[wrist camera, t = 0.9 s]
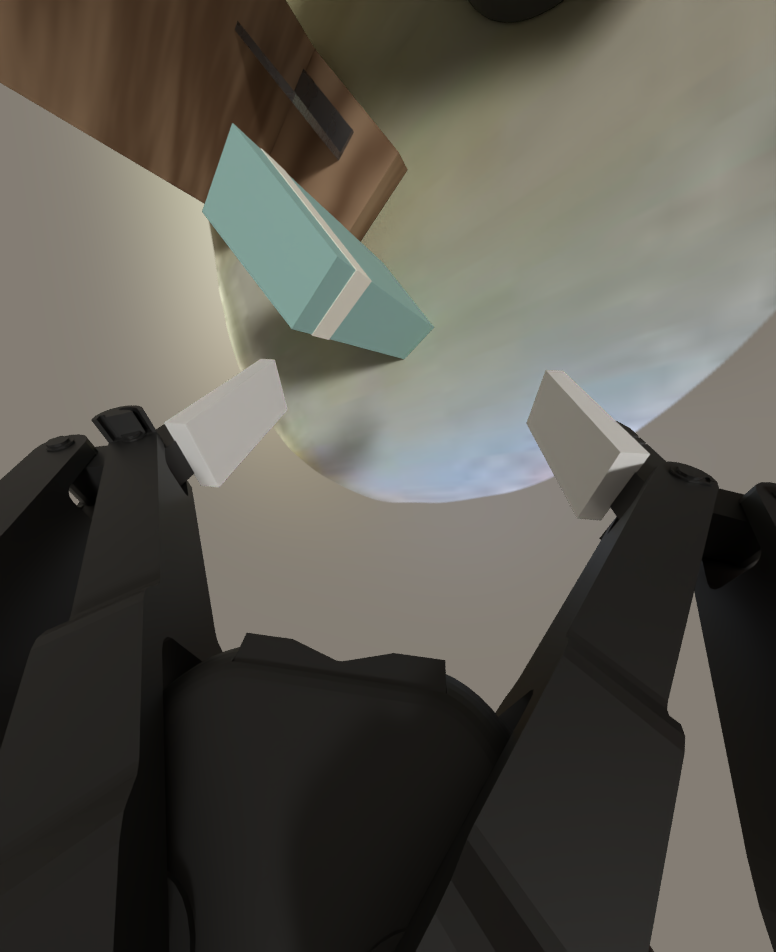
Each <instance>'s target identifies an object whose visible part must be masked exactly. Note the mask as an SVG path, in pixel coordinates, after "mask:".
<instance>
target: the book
mask: <svg viewBox="0 0 776 952" xmlns="http://www.w3.org/2000/svg"><path fill="white" fill-rule="evenodd" d="M202 212H203V213H204V215H205V216H206V218H207V219H208V220H209V221H210V223H211V224H212V225H213V227H214V228H215V229H216V231H217V232H218V233H219V235H220V236H221V237H222V238H223V240H224V241H225V242H226V244H227V245H228V246H229V248H230V249H231V250H232V252H233V253H234V254H235V256H236V257H237V258H238V259H239V261H240V262H241V263H242V265H243V266H244V267H245V269H246V270H247V271H248V273H249V274H250V275H251V276H252V278H253V279H254V280H255V282H256V283H257V284H258V286H259V287H260V288H261V290H262V291H263V292H264V293H265V295H266V296H267V297H268V299H269V300H270V301H271V303H272V304H273V305H274V307H275V308H276V309H277V311H278V312H279V313H280V314H281V316H282V317H283V318H284V320H285V321H286V322H287V324H288V325H289V326H290V328H291V329H294V330H297V331H301V332H305V333H308V334H311V335H312V336H316V337H319V338H323V339H327V340H329V339H331V340H335V341H338V342H342V343H346V344H350V345H353V346H357V347H361V348H364V349H368V350H372V351H376V352H379V353H383V354H387V355H391V356H394V357H398V358H402V359H405V358H406V357H407V356H408V355H409V354H410V353H411V351H412V350H413V349H414V348H415V347H416V346H417V345H418V344H419V343H420V342H421V341H422V340H423V339H424V338H425V337H426V336H427V334H428V333H429V332H430V331H431V330H432V329H433V328H434V327H433V325H432V324H431V323H430V322H429V320H428V319H427V318H426V317H425V315H424V314H423V313H422V312H421V310H420V309H419V308H418V306H417V305H416V304H415V303H414V301H413V300H412V299H411V298H410V296H409V295H408V294H407V293H406V291H405V290H404V289H403V288H402V286H401V285H400V284H399V282H398V281H397V280H396V279H395V277H394V276H393V275H392V274H391V272H390V271H389V270H388V269H387V267H386V266H385V265H384V263H383V262H381V261H380V260H379V259H378V258H377V257H376V256H375V255H374V254H373V253H372V252H371V251H370V250H369V249H368V248H366V247H365V246H364V245H363V244H362V243H361V242H360V241H359V240H358V239H357V238H356V237H355V236H354V235H353V234H351V233H350V232H349V231H348V230H347V229H346V228H345V227H344V226H343V225H342V224H341V223H340V222H339V221H337V220H336V219H335V218H334V217H333V216H332V215H331V214H330V213H329V212H328V211H327V210H326V209H325V208H324V207H322V206H321V205H320V204H319V203H318V202H317V201H316V200H315V199H314V198H313V197H312V196H311V195H310V194H309V193H307V192H306V191H305V190H304V189H303V188H302V187H301V186H300V185H299V184H298V183H297V182H296V181H295V180H294V179H292V178H291V177H290V176H289V175H288V174H287V172H286V171H285V170H284V169H283V168H282V167H281V166H280V165H279V164H278V163H277V162H276V161H275V160H273V159H272V158H271V157H270V156H269V155H268V154H267V153H266V152H265V151H264V150H263V149H262V148H261V149H260V148H259V147H258V146H257V145H256V144H255V143H254V142H253V141H252V140H251V139H250V138H248V137H247V136H246V135H245V134H244V133H243V132H242V131H241V130H240V129H239V128H238V127H237V126H236V125H234V124H233V123H232V125H231V128H230V131H229V134H228V137H227V140H226V143H225V146H224V149H223V152H222V155H221V158H220V161H219V163H218V166H217V169H216V172H215V175H214V178H213V181H212V184H211V187H210V190H209V193H208V196H207V199H206V202H205V205H204V207H203V211H202Z"/></svg>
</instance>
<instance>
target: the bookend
mask: <svg viewBox="0 0 776 952" xmlns="http://www.w3.org/2000/svg"><path fill="white" fill-rule="evenodd" d="M235 31H236V32H237V33H238V35H239V36H240V37H241V39H242V40H243V41H244V42H245V44H246V45H247V46H248V47H249V49H250V50H251V51H252V52H253V54H254V55H255V56H256V57H257V59H258V60H259V61H260V63H261V64H262V65H263V66H264V68H265V69H266V70H267V71H268V73H269V74H270V75H271V76H272V78H273V79H274V80H275V82H276V83H277V84H278V85H279V87H280V88H281V89H282V90H283V92H284V93H285V94H286V95H287V97H288V98H289V99H290V101H291V102H292V103H293V104H294V106H295V107H296V108H297V109H298V111H299V112H300V113H301V114H302V116H303V117H304V118H305V119H306V121H307V122H308V123H309V124H310V126H311V127H312V128H313V129H314V131H315V132H316V133H317V134H318V136H319V137H320V138H321V139H322V141H323V142H324V143H325V144H326V146H327V147H328V148H329V149H330V151H331V152H332V153H333V154H334V156H335V157H336V158H337V159H338V161H339V159H340V158H341V156H342V154H343V152H344V150H345V148H346V146H347V144H348V143H349V141H350V139H351V137H352V135H353V133H354V131H353V129H352V128H351V127H350V126H349V125H348V123H347V122H346V121H345V120H344V118H343V117H342V116H341V115H340V113H339V112H338V111H337V110H336V108H335V107H334V106H333V105H332V103H331V102H330V101H329V100H328V98H327V97H326V96H325V95H324V93H323V92H322V91H321V90H320V88H319V87H318V86H317V85H316V84H315V82H314V81H313V80H312V79H311V77H310V76H309V75H308V74H307V72H306V71H305V70H304V69H303V71H302V73H301V75H300V78H299V80H298V83H297V85H296V87H295V90H294V91H293V89H292V88H291V87H290V86H289V84H288V83H287V82H286V81H285V79H284V78H283V77H282V76H281V74H280V73H279V72H278V71H277V69H276V68H275V67H274V66H273V64H272V63H271V62H270V61H269V59H268V58H267V57H266V56H265V54H264V53H263V52H262V51H261V49H260V48H259V47H258V46H257V44H256V43H255V42H254V41H253V39H252V38H251V37H250V36H249V34H248V33H247V32H246V31H245V29H244V28H243V27H242V26H241V24H240V23H239V22H238V21H237V24H236V27H235Z"/></svg>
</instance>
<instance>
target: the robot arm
mask: <svg viewBox="0 0 776 952" xmlns="http://www.w3.org/2000/svg"><path fill="white" fill-rule="evenodd" d="M469 1H470V3H471V4H472V5H473V6H474V7H475V9H476V10H477V11H479V12H480V13H481V14H482V15H484V16H486V17H488V18H490V19H492V20H496V21H501V22H515V21H521V20H525V19H528V18H532V17H534V16H536V15H539V14H541V13H543V12H545V11H547V10H549V9H550V8H552V7H554V6H555V5H557V4H558V3H560V2H561V1H563V0H469ZM287 410H288V409H287V405H286V401H285V398H284V394H283V390H282V386H281V382H280V378H279V374H278V370H277V366H276V362H275V359H260V360H258V361H257V362H255V363H254V364H252V365H251V366H249V367H248V368H246V369H244V370H243V371H241V372H240V373H239V374H237V375H236V376H234V377H232V378H231V379H229V380H228V381H226V382H225V383H223V384H222V385H220V386H219V387H217V388H216V389H215V390H213V391H211V392H210V393H208V394H207V395H205V396H204V397H202V398H201V399H199V400H198V401H196V402H195V403H193V404H192V405H190V406H189V407H187V408H185V409H184V410H183V411H181V412H180V413H178V414H176V415H175V416H173V417H172V418H170V419H169V420H167V421H166V422H164V425H162V426H161V427H159V428H158V429H155V428H154V426H153V424H152V423H151V421H150V419H149V418H148V416H147V415H146V413H145V411H144V410H143V408H142V407H140V406H123V407H118V408H113V409H110V410H107V411H104V412H102V413H100V414H98V415H97V416H95V417H94V418H93V419H92V422H93V423H94V424H95V426H96V427H97V428H98V429H99V431H100V432H101V433H102V434H103V436H104V437H105V439H106V440H107V441H108V442H109V444H108V446H99V447H94V446H93V444H92V443H91V442H90V441H89V440H88V438H87V437H86V436H85V435H69V436H59V437H56V438H53V439H50V440H48V441H47V442H46V443H44V444H42V445H40V446H39V447H37V448H36V449H34V450H33V451H32V452H31V453H30V454H29V455H28V456H26V457H25V458H24V459H23V460H22V461H21V462H20V463H19V464H18V465H17V466H15V467H14V468H13V469H12V470H11V471H10V472H9V473H8V474H7V475H5V476H4V477H3V478H2V479H1V480H0V952H654V951H653V949H652V948H651V946H650V940H651V935H652V929H653V924H654V918H655V913H656V907H657V901H658V896H659V891H660V885H661V880H662V874H663V869H664V863H665V858H666V852H667V846H668V841H669V835H670V830H671V825H672V819H673V813H674V808H675V802H676V797H677V791H678V786H679V780H680V775H681V769H682V764H683V758H684V751H685V735H684V732H683V729H682V726H681V724H680V723H678V722H677V721H676V720H674V719H673V718H672V717H670V716H669V714H668V711H667V703H668V698H669V694H670V689H671V685H672V681H673V677H674V673H675V669H676V664H677V660H678V656H679V652H680V648H681V644H682V639H683V635H684V631H685V627H686V623H687V618H688V614H689V610H690V606H691V602H692V598H693V593H694V592H695V597H696V602H697V607H698V611H699V617H700V622H701V627H702V632H703V637H704V642H705V647H706V652H707V657H708V662H709V667H710V672H711V677H712V682H713V687H714V692H715V697H716V702H717V708H718V713H719V718H720V723H721V728H722V733H723V737H724V743H725V748H726V753H727V757H728V763H729V768H730V773H731V778H732V783H733V788H734V793H735V798H736V803H737V808H738V813H739V818H740V823H741V828H742V833H743V839H744V844H745V849H746V854H747V858H748V862H749V866H750V870H751V875H752V879H753V882H754V887H755V891H756V895H757V899H758V903H759V907H760V910H761V913H762V916H763V919H764V922H765V926H766V929H767V932H768V935H769V938H770V941H771V944H772V947H773V949H774V952H776V483H770V482H766V483H765V482H761V483H759V484H757V485H755V486H754V487H753V488H752V489H751V490H749V491H748V492H747V493H746V494H745V495H744V494H739V493H735V492H731V491H727V490H723V489H719V487H718V483H717V481H715V480H714V479H713V478H712V477H711V476H710V475H708V474H707V473H705V472H703V471H702V470H699V469H697V468H694V467H692V466H689V465H686V464H682V463H677V462H666V461H665V460H664V459H663V458H662V457H661V456H659V454H657V453H656V452H655V451H654V450H653V449H652V448H651V447H650V446H649V445H647V444H645V442H644V441H643V440H642V439H641V438H638V435H637V434H636V433H635V432H634V431H632V430H631V429H630V428H629V427H627V426H625V425H623V424H621V423H619V422H618V421H615V420H614V419H613V418H612V417H611V416H610V415H609V414H608V413H607V412H606V411H605V410H604V409H602V408H601V407H600V406H599V405H598V404H597V403H596V402H595V401H594V400H593V399H592V398H591V397H590V396H589V395H588V394H587V393H586V392H585V391H584V390H583V389H582V388H581V387H579V386H578V385H577V384H576V383H575V382H574V381H573V380H572V379H571V378H570V377H569V376H568V375H567V374H566V373H565V372H564V371H553V370H546V371H545V374H544V376H543V379H542V382H541V385H540V387H539V390H538V393H537V396H536V398H535V401H534V404H533V407H532V409H531V412H530V415H529V418H528V421H527V425H528V427H529V429H530V431H531V433H532V435H533V436H534V438H535V440H536V442H537V444H538V446H539V448H540V450H541V451H542V453H543V455H544V457H545V459H546V461H547V463H548V465H549V467H550V468H551V470H552V472H553V474H554V476H555V478H556V479H557V481H558V483H559V485H560V487H561V489H562V491H563V493H564V495H565V497H566V498H567V500H568V502H569V504H570V506H571V508H572V510H573V512H574V513H575V515H576V517H577V518H580V519H590V520H602V518H603V517H604V516H605V514H606V513H607V512H608V510H609V509H610V508H611V509H612V510H613V511H614V513H615V514H616V516H617V517H616V518H615V520H614V521H613V522H612V523H611V525H610V526H609V527H608V528H607V530H606V531H605V532H604V533H603V535H602V536H601V537H600V539H601V541H600V543H599V545H598V546H597V548H596V550H595V552H594V553H593V555H592V557H591V558H590V560H589V562H588V563H587V565H586V567H585V568H584V570H583V572H582V573H581V575H580V577H579V579H578V580H577V582H576V584H575V585H574V587H573V589H572V590H571V592H570V594H569V595H568V597H567V599H566V601H565V602H564V604H563V605H562V607H561V609H560V610H559V612H558V614H557V615H556V617H555V619H554V620H553V622H552V624H551V626H550V627H549V629H548V631H547V632H546V634H545V636H544V637H543V639H542V641H541V642H540V644H539V646H538V648H537V649H536V651H535V652H534V654H533V656H532V658H531V659H530V661H529V663H528V664H527V666H526V668H525V669H524V671H523V673H522V674H521V676H520V678H519V679H518V681H517V682H516V684H515V685H514V687H513V688H512V689H511V691H510V692H509V693H508V695H507V696H506V697H505V699H504V700H503V702H502V704H501V705H500V706H499V708H498V710H497V711H496V713H495V712H494V711H493V710H492V709H491V708H490V707H489V706H488V705H487V704H486V703H485V702H484V701H483V700H482V698H480V696H478V695H477V694H476V693H475V692H473V691H472V690H471V689H470V688H469V687H467V686H466V685H464V684H463V683H461V682H460V681H458V680H456V679H455V678H453V677H451V676H448V675H446V672H445V671H446V670H445V660H440V659H432V658H425V657H417V656H410V655H403V654H395V653H392V654H387V655H380V656H374V657H367V658H362V659H355V660H349V661H336V660H334V659H332V658H330V657H328V656H326V655H324V654H321V653H320V652H318V651H316V650H314V649H312V648H309V647H308V646H306V645H303V644H301V643H300V642H298V641H295V640H293V639H288V638H281V637H273V636H266V635H259V634H252V633H246V636H245V638H244V640H243V642H242V644H241V646H240V647H238V648H235V649H231V650H228V651H225V652H222V650H221V648H220V646H219V644H218V641H217V638H216V633H215V628H214V622H213V615H212V609H211V604H210V597H209V591H208V584H207V578H206V573H205V566H204V560H203V554H202V548H201V542H200V536H199V529H198V523H197V517H196V511H195V505H194V498H193V492H192V487H191V486H190V484H189V483H188V481H187V480H188V479H189V478H190V477H191V476H192V475H193V474H194V475H195V476H196V478H197V480H198V482H199V483H200V485H201V486H210V487H220V486H221V485H222V484H223V482H224V481H225V480H226V479H227V478H228V477H229V476H230V474H231V473H232V472H233V471H234V470H235V469H236V468H237V466H238V465H239V464H240V463H241V462H242V461H243V460H244V459H245V457H246V456H247V455H248V454H249V453H250V452H251V451H252V449H253V448H254V447H255V446H256V445H257V444H258V443H259V442H260V440H261V439H262V438H263V437H264V436H265V435H266V434H267V432H268V431H269V430H270V429H271V428H272V427H273V426H274V424H275V423H276V422H277V421H278V420H279V419H280V418H281V417H282V415H283V414H284V413H285V412H286V411H287ZM69 491H70V492H71V493H72V494H73V495H74V496H75V497H76V498H77V499H78V500H79V501H80V502H79V503H78V505H76V504H75V503H73V501H72V500H71V498H70V497H69Z"/></svg>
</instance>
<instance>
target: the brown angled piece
mask: <svg viewBox="0 0 776 952" xmlns="http://www.w3.org/2000/svg"><path fill="white" fill-rule="evenodd" d="M237 21H238V22H239V23H240V24H241V26H242V27H243V28H244V29H245V31H246V32H247V33H248V34H249V36H250V37H251V38H252V39H253V41H254V42H255V43H256V44H257V46H258V47H259V48H260V49H261V51H262V52H263V53H264V54H265V56H266V57H267V58H268V59H269V61H270V62H271V63H272V64H273V66H274V67H275V68H276V69H277V71H278V72H279V73H280V74H281V76H282V77H283V78H284V79H285V81H286V82H287V83H288V84H289V86H290V87H291V88H292V89H293V91H294V90H295V87H296V85H297V83H298V80H299V78H300V75H301V73H302V71H303V69H304V70H305V71H306V72H307V74H308V75H309V76H310V77H311V79H312V80H313V81H314V82H315V84H316V85H317V86H318V87H319V88H320V90H321V91H322V92H323V93H324V95H325V96H326V97H327V98H328V100H329V101H330V102H331V103H332V105H333V106H334V107H335V108H336V110H337V111H338V112H339V113H340V115H341V116H342V117H343V118H344V120H345V121H346V122H347V123H348V125H349V126H350V127H351V128H352V129H353V131H354V133H353V135H352V137H351V139H350V141H349V143H348V144H347V146H346V148H345V150H344V152H343V154H342V156H341V158H340V159H339V161H338V159H337V158H336V157H335V156H334V154H333V153H332V152H331V151H330V149H329V148H328V147H327V146H326V144H325V143H324V142H323V141H322V139H321V138H320V137H319V136H318V134H317V133H316V132H315V131H314V129H313V128H312V127H311V126H310V124H309V123H308V122H307V121H306V119H305V118H304V117H303V116H302V114H301V113H300V112H299V111H298V109H297V108H296V107H295V106H294V104H293V103H292V102H291V101H290V99H289V98H288V97H287V95H286V94H285V93H284V92H283V90H282V89H281V88H280V87H279V85H278V84H277V83H276V82H275V80H274V79H273V78H272V76H271V75H270V74H269V73H268V71H267V70H266V69H265V68H264V66H263V65H262V64H261V63H260V61H259V60H258V59H257V57H256V56H255V55H254V54H253V52H252V51H251V50H250V49H249V47H248V46H247V45H246V44H245V42H244V41H243V40H242V39H241V37H240V36H239V35H238V33H237V32H236V31H235V27H236V24H237ZM0 83H2V84H3V85H5V86H7V87H8V88H10V89H12V90H14V91H15V92H17V93H19V94H20V95H22V96H24V97H25V98H27V99H29V100H30V101H32V102H34V103H35V104H37V105H39V106H41V107H43V108H44V109H46V110H47V111H49V112H51V113H52V114H54V115H56V116H57V117H59V118H61V119H62V120H64V121H66V122H68V123H69V124H71V125H73V126H74V127H76V128H78V129H79V130H81V131H83V132H84V133H86V134H88V135H89V136H92V137H93V138H95V139H96V140H98V141H100V142H102V143H103V144H105V145H106V146H108V147H110V148H111V149H113V150H115V151H117V152H118V153H120V154H122V155H123V156H125V157H127V158H128V159H130V160H132V161H133V162H135V163H137V164H139V165H140V166H142V167H144V168H145V169H147V170H149V171H150V172H152V173H154V174H155V175H157V176H159V177H160V178H162V179H164V180H166V181H167V182H169V183H171V184H172V185H174V186H176V187H177V188H179V189H181V190H182V191H184V192H186V193H187V194H189V195H191V196H193V197H194V198H196V199H198V200H199V201H201V202H203V203H204V204H205V202H206V199H207V196H208V193H209V190H210V187H211V184H212V181H213V178H214V175H215V172H216V169H217V166H218V163H219V161H220V158H221V155H222V152H223V149H224V146H225V143H226V140H227V137H228V134H229V131H230V128H231V125H232V123H233V124H234V125H236V126H237V127H238V128H239V129H240V130H241V131H242V132H243V133H244V134H245V135H246V136H247V137H248V138H250V139H251V140H252V141H253V142H254V143H255V144H256V145H257V146H258V147H259V148H260V149H261V148H262V149H263V150H264V151H265V152H266V153H267V154H268V155H269V156H270V157H271V158H272V159H273V160H275V161H276V162H277V163H278V164H279V165H280V166H281V167H282V168H283V169H284V170H285V171H286V172H287V174H288V175H289V176H290V177H291V178H292V179H294V180H295V181H296V182H297V183H298V184H299V185H300V186H301V187H302V188H303V189H304V190H305V191H306V192H307V193H309V194H310V195H311V196H312V197H313V198H314V199H315V200H316V201H317V202H318V203H319V204H320V205H321V206H322V207H324V208H325V209H326V210H327V211H328V212H329V213H330V214H331V215H332V216H333V217H334V218H335V219H336V220H337V221H339V222H340V223H341V224H342V225H343V226H344V227H345V228H346V229H347V230H348V231H349V232H350V233H351V234H353V235H354V236H355V237H356V238H357V239H358V240H359V241H361V240H362V238H363V237H364V235H365V234H366V232H367V231H368V229H369V228H370V226H371V225H372V223H373V222H374V220H375V219H376V217H377V216H378V214H379V213H380V211H381V209H382V208H383V206H384V205H385V203H386V202H387V200H388V199H389V197H390V196H391V194H392V193H393V191H394V190H395V188H396V187H397V185H398V184H399V182H400V180H401V179H402V177H403V176H404V174H405V173H406V171H407V168H406V166H405V164H404V162H403V160H402V158H401V156H400V154H399V152H398V151H397V150H396V148H395V147H394V146H393V145H392V144H391V142H390V141H389V140H388V139H387V137H386V136H385V135H384V134H383V132H382V131H381V130H380V129H379V127H378V126H377V125H376V124H375V123H374V121H373V120H372V119H371V118H370V116H369V115H368V114H367V113H366V111H365V110H364V109H363V108H362V106H361V105H360V104H359V103H358V102H357V100H356V99H355V98H354V97H353V95H352V94H351V93H350V92H349V90H348V89H347V88H346V87H345V86H344V84H343V83H342V82H341V81H340V79H339V78H338V77H337V76H336V74H335V73H334V72H333V71H332V69H331V68H330V67H329V66H328V65H327V63H326V62H325V61H324V60H323V58H322V57H321V56H320V55H319V53H318V52H317V51H316V50H315V48H314V47H313V45H312V43H311V42H310V40H309V38H308V37H307V35H306V33H305V32H304V30H303V28H302V27H301V25H300V23H299V22H298V20H297V18H296V17H295V15H294V13H293V12H292V10H291V8H290V7H289V5H288V3H287V2H286V0H0Z"/></svg>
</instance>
